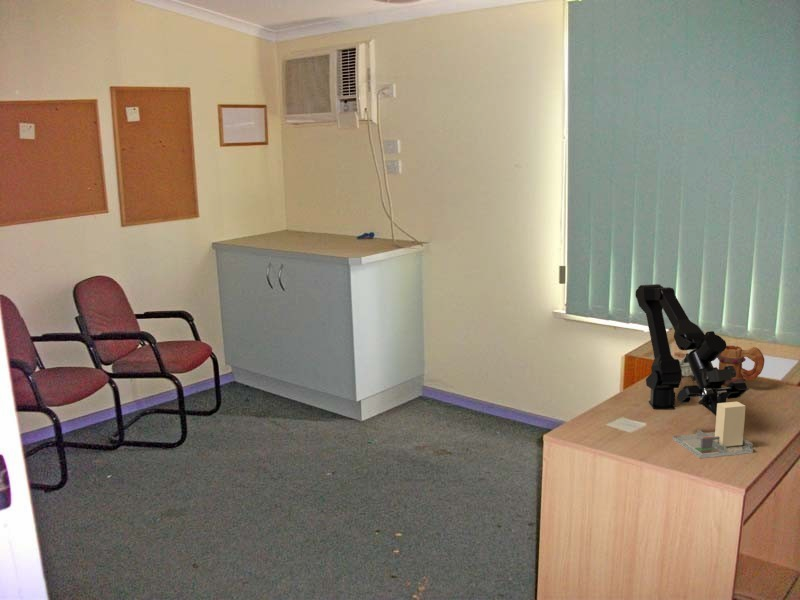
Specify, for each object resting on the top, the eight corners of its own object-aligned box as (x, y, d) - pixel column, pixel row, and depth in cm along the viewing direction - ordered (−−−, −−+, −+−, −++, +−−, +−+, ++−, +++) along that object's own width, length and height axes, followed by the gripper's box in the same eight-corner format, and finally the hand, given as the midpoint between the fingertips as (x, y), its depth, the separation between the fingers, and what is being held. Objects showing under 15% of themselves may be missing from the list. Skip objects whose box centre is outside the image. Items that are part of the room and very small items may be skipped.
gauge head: (696, 442, 201) (699, 404, 199) (732, 438, 203) (735, 400, 201) (705, 448, 197) (708, 409, 195) (742, 444, 199) (745, 405, 197)
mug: (711, 389, 248) (714, 345, 245) (716, 382, 254) (719, 340, 251) (759, 397, 239) (762, 352, 236) (763, 390, 246) (767, 346, 243)
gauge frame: (672, 439, 207) (673, 431, 207) (722, 434, 210) (723, 426, 210) (700, 458, 195) (700, 449, 194) (752, 452, 198) (753, 443, 197)
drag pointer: (700, 448, 197) (701, 436, 196) (710, 447, 197) (711, 435, 197) (701, 449, 196) (702, 437, 196) (712, 447, 197) (713, 436, 196)
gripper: (685, 358, 202) (706, 410, 193) (746, 353, 205) (770, 404, 197) (668, 377, 211) (687, 428, 203) (727, 372, 214) (748, 422, 206)
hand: (723, 420), depth 202 cm, fingers closed, pressing on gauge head
